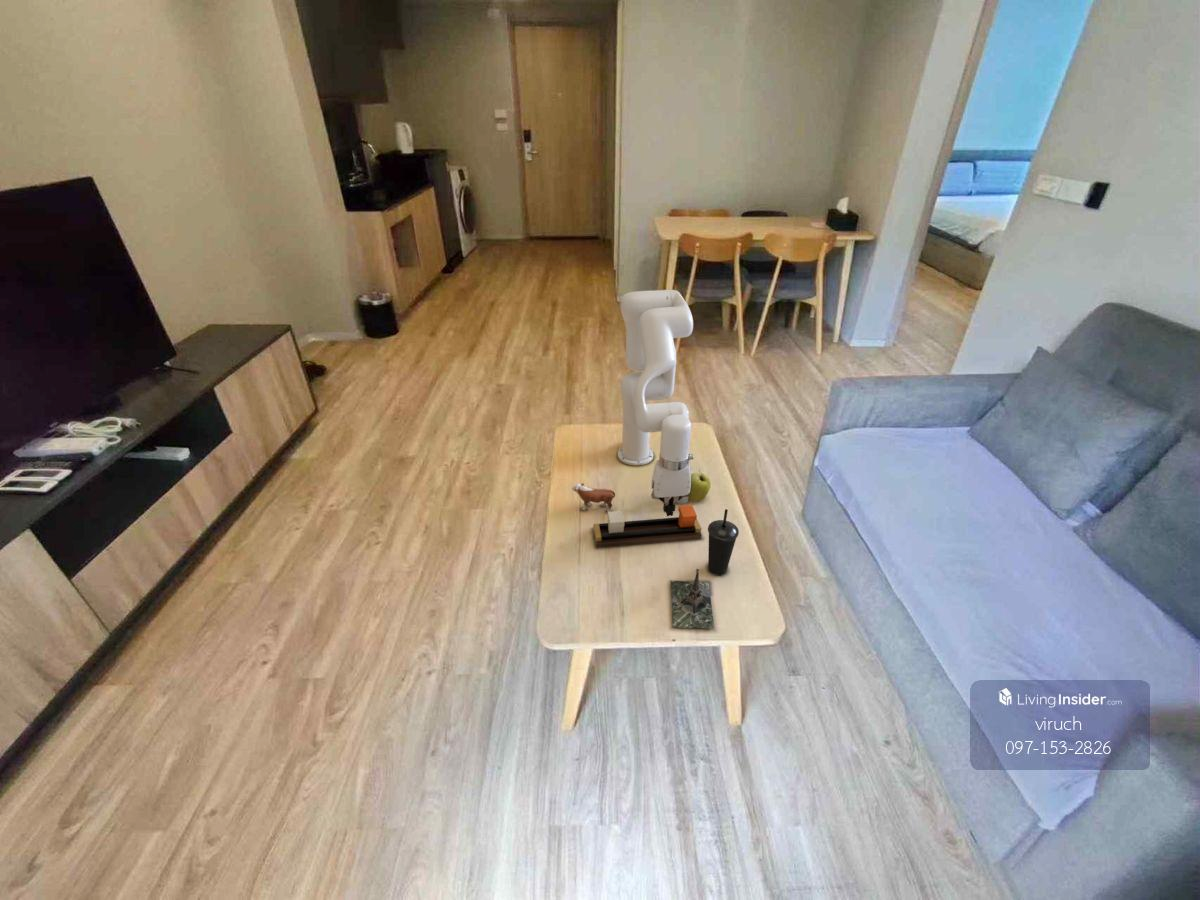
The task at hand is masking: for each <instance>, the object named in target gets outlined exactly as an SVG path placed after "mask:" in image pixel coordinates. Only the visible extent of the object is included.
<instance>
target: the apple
mask: <svg viewBox="0 0 1200 900" xmlns="http://www.w3.org/2000/svg"><path fill="white" fill-rule="evenodd" d="M698 471H699V472H693V473H691V487H690V495H689V499H688V500H690V501H695V502H700V501H704V499H705V498H706V496H708V494H709V492H710V490H711V481H710V478H709V477H708V475H706V474H704V473H701V470H700V469H699V470H698Z"/></svg>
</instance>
